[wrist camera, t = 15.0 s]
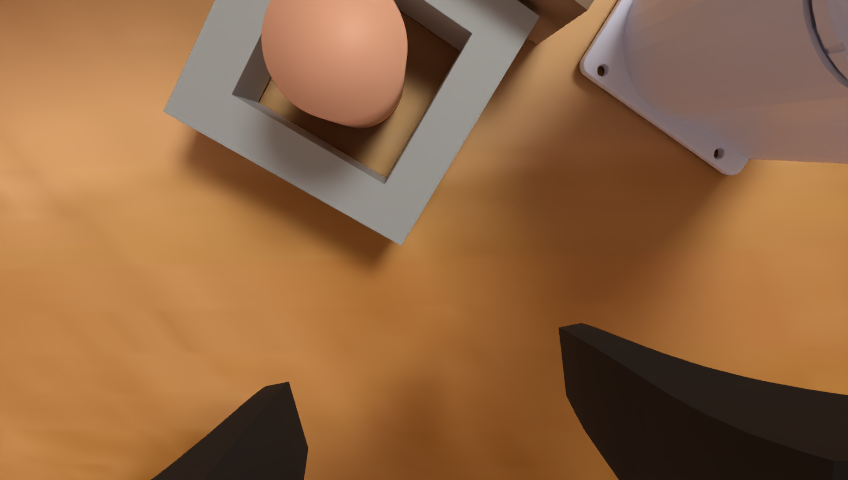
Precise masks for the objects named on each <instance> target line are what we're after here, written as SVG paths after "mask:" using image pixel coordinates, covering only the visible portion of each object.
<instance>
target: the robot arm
mask: <svg viewBox="0 0 848 480" xmlns="http://www.w3.org/2000/svg"><path fill="white" fill-rule="evenodd" d="M599 65H600V66H602V67H603V68H604V75H603V76H599V75H598V73H597V69H598V66H599ZM580 70H581V73H582V74H583V75H584V76H586V77H587V78H588V79H590V80H591V81H593V82H594V83H595V84H597V85H598V86H600V87H601V88H603V89H604V90H605V91H607V92H608V93H610V94H611V95H612V96H614V97H615V98H617V99H618V100H619V101H621V102H622V103H624V104H625V105H627V106H628V107H629V108H631V109H632V110H634V111H635V112H636V113H638V114H639V115H641V116H642V117H643V118H645V119H646V120H648V121H649V122H650V123H652V124H653V125H655V126H656V127H658V128H659V129H660V130H662V131H663V132H665V133H666V134H667V135H669V136H670V137H672V138H673V139H674V140H676V141H677V142H679V143H680V144H682V145H683V146H684V147H686V148H687V149H689V150H690V151H691V152H693V153H694V154H696V155H697V156H698V157H700V158H701V159H703V160H704V161H706V162H707V163H708V164H710V165H711V166H713V167H714V168H715V169H717V170H718V171H720V172H721V173H723V174H725V175H736V174H738V173H739V172H740V171H741V170H742V169H743V167H744V166H745V165H746V163H747V162H748V161H749V159H759V160H780V161H801V162H822V163H843V164H848V0H619V1H618V2H617V4H616V5H615V7H614V8H613V10H612V12H611V13H610V15H609V16H608V18H607V20H606V21H605V23H604V24H603V26H602V27H601V29H600V31H599V32H598V34H597V35H596V37H595V39H594V40H593V42H592V43H591V45H590V46H589V48H588V50H587V51H586V53H585V54H584V56H583V57H582V59H581V62H580ZM716 149H717V150H718V155H717V157H716V158H715V157H714V152H715V150H716ZM559 335H560V343H561V352H562V361H563V370H564V379H565V388H566V396H567V398H568V399H569V401H570V403H571V405H572V407H573V409H574V411H575V413H576V415H577V417H578V419H579V421H580V423H581V425H582V426H583V428H584V430H585V431H586V433H587V434H588V436H589V437H590V439H591V440H592V442H593V443H594V445H595V446H596V448H597V449H598V450H599V452H600V453H601V455H602V456H603V458H604V459H605V461H606V462H607V463H608V465H609V466H610V468H611V469H612V471H613V472H614V473H615V475H616V476H617V478H618V479H619V480H848V395H843V394H836V393H829V392H822V391H816V390H809V389H804V388H798V387H793V386H787V385H782V384H777V383H771V382H766V381H761V380H757V379H752V378H748V377H743V376H739V375H736V374H732V373H728V372H724V371H720V370H716V369H712V368H708V367H705V366H701V365H698V364H695V363H691V362H688V361H685V360H682V359H679V358H676V357H673V356H670V355H667V354H664V353H661V352H658V351H656V350H653V349H650V348H647V347H645V346H642V345H639V344H637V343H634V342H631V341H629V340H626V339H624V338H621V337H619V336H616V335H614V334H611V333H608V332H606V331H603V330H601V329H598V328H595V327H592V326H589V325H586V324H583V323H579V324H574V325H570V326H565V327H560V328H559ZM307 453H308V446H307V443H306V439H305V436H304V432H303V429H302V425H301V422H300V419H299V415H298V412H297V408H296V405H295V401H294V398H293V395H292V391H291V388H290V384H289V382H285V383H280V384H275V385H270V386H265V387H264V388H263V389H261V390H260V391H258V392H257V393H256V394H255V395H253V396H252V397H251V398H250V399H248V400H247V401H246V402H245V403H244V404H243V405H241V406H240V407H239V408H238V409H237V410H236V411H234V412H233V413H232V414H231V415H230V416H229V417H228V418H226V419H225V420H224V421H223V422H222V423H221V424H219V425H218V426H217V427H216V428H215V429H214V430H213V431H211V432H210V433H209V434H208V435H207V436H206V437H204V438H203V439H202V440H201V441H199V442H198V443H197V444H196V445H195V446H193V447H192V448H191V449H190V450H188V451H187V452H186V453H185V454H183V455H182V456H181V457H180V458H178V459H177V460H176V461H175V462H174V463H172V464H171V465H170V466H169V467H167V468H166V469H165V470H163V471H162V472H161V473H160V474H158V475H157V476H156V477H154V478H153V479H151V480H304V474H305V468H306V460H307Z"/></svg>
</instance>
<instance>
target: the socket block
mask: <svg viewBox="0 0 848 480" xmlns="http://www.w3.org/2000/svg"><path fill="white" fill-rule="evenodd" d="M393 1H394V2H395V4H396V6H397V7H398V9H399V10H400V11H402V12H403V13H405V14H406V15H408V16H409V17H411V18H412V19H414V20H415V21H417V22H418V23H419V24H421V25H422V26H424V27H425V28H427V29H428V30H430V31H431V32H433V33H434V34H436V35H437V36H439V37H440V38H442V39H443V40H445V41H446V42H448V43H449V44H450V45H452V46H453V47H455V48H456V49H458V50H459V51H460V52H459V54H458V55H457V57H456V59H455V60H454V62H453V64H452V66H451V67H450V69H449V71H448V73H447V74H446V76H445V78H444V79H443V81H442V83H441V85H440V86H439V88H438V90H437V92H436V93H435V95H434V97H433V99H432V100H431V102H430V104H429V105H428V107H427V109H426V111H425V112H424V114H423V116H422V118H421V119H420V121H419V123H418V124H417V126H416V128H415V130H414V131H413V133H412V135H411V137H410V138H409V140H408V142H407V143H406V145H405V147H404V149H403V150H402V152H401V154H400V156H399V157H398V159H397V161H396V163H395V164H394V166H393V168H392V169H391V171H390V173H389V175H388V176H387V178H385V177H384V176H382V175H380V174H379V173H377V172H375V171H374V170H372V169H370V168H368V167H367V166H365V165H363V164H362V163H360V162H358V161H357V160H355V159H353V158H352V157H350V156H348V155H346V154H345V153H343V152H341V151H340V150H338V149H336V148H335V147H333V146H331V145H330V144H328V143H326V142H325V141H323V140H321V139H319V138H318V137H316V136H314V135H313V134H311V133H309V132H308V131H306V130H304V129H303V128H301V127H299V126H298V125H296V124H294V123H292V122H291V121H289V120H287V119H286V118H284V117H282V116H281V115H279V114H277V113H276V112H274V111H272V110H270V109H269V108H267V107H265V106H264V105H262V104H260V103H259V102H258V101H259V99H260V97H261V95H262V93H263V91H264V89H265V87H266V85H267V83H268V81H269V79H270V77H271V76H270V73H269V71H268V69H267V66H266V63H265V60H264V56H263V51H262V41H261V36H262V25H263V19H264V16H265V12H266V9H267V7H268V5H269V3H270V0H215V2H214V4H213V6H212V8H211V10H210V12H209V15H208V17H207V19H206V21H205V23H204V25H203V27H202V30H201V32H200V34H199V36H198V38H197V40H196V43H195V45H194V47H193V49H192V51H191V53H190V56H189V58H188V60H187V62H186V64H185V66H184V68H183V71H182V73H181V75H180V77H179V79H178V81H177V84H176V86H175V88H174V90H173V92H172V94H171V97H170V99H169V101H168V103H167V105H166V107H165V109H164V112H165V113H167V114H168V115H170V116H172V117H174V118H176V119H177V120H179V121H181V122H183V123H184V124H186V125H188V126H190V127H192V128H193V129H195V130H197V131H199V132H200V133H202V134H204V135H206V136H207V137H209V138H211V139H213V140H215V141H216V142H218V143H220V144H222V145H223V146H225V147H227V148H229V149H231V150H232V151H234V152H236V153H238V154H239V155H241V156H243V157H245V158H247V159H248V160H250V161H252V162H254V163H255V164H257V165H259V166H261V167H262V168H264V169H266V170H268V171H270V172H271V173H273V174H275V175H277V176H278V177H280V178H282V179H284V180H286V181H287V182H289V183H291V184H293V185H294V186H296V187H298V188H300V189H302V190H303V191H305V192H307V193H309V194H310V195H312V196H314V197H316V198H317V199H319V200H321V201H323V202H325V203H326V204H328V205H330V206H332V207H333V208H335V209H337V210H339V211H341V212H342V213H344V214H346V215H348V216H349V217H351V218H353V219H355V220H357V221H358V222H360V223H362V224H364V225H365V226H367V227H369V228H371V229H372V230H374V231H376V232H378V233H380V234H381V235H383V236H385V237H387V238H388V239H390V240H392V241H394V242H396V243H397V244H399V245H402V244H403V242H404V241H405V239H406V237H407V236H408V234H409V232H410V231H411V229H412V227H413V226H414V224H415V222H416V221H417V219H418V217H419V216H420V214H421V212H422V211H423V209H424V207H425V206H426V204H427V202H428V201H429V199H430V197H431V196H432V194H433V192H434V191H435V189H436V187H437V186H438V184H439V182H440V181H441V179H442V178H443V176H444V174H445V173H446V171H447V169H448V168H449V166H450V164H451V163H452V161H453V159H454V158H455V156H456V154H457V153H458V151H459V149H460V148H461V146H462V144H463V143H464V141H465V139H466V138H467V136H468V134H469V133H470V131H471V129H472V128H473V126H474V124H475V123H476V121H477V119H478V118H479V116H480V114H481V113H482V111H483V110H484V108H485V106H486V105H487V103H488V101H489V100H490V98H491V96H492V95H493V93H494V91H495V90H496V88H497V86H498V85H499V83H500V81H501V80H502V78H503V76H504V75H505V73H506V71H507V70H508V68H509V66H510V65H511V63H512V61H513V60H514V58H515V56H516V55H517V53H518V51H519V50H520V48H521V47H522V45H523V43H524V42H525V40H526V38H527V37H528V35H529V33H530V32H531V30H532V28H533V27H534V25H535V23H536V22H537V20H538V18H539V17H540V16H538V15H537V14H536V13H534V12H533V11H532V10H530V9H529V8H527V7H526V6H525V5H523V4H522V3H520V2H519V1H518V0H393Z"/></svg>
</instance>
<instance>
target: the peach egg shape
mask: <svg viewBox="0 0 848 480" xmlns="http://www.w3.org/2000/svg"><path fill="white" fill-rule="evenodd" d="M261 41H262V51H263V56H264V60H265V63H266V66H267V69H268V71H269V73H270V76H271V78H272V80H273V81H274V83H275V84H276V86H277V87H278V89H279V90H280V91H281V92H282V94H283V95H284V96H285V97H286V98H287V99H288V100H289V101H290V102H291V103H293V104H294V105H295V106H297V107H298V108H300V109H301V110H303V111H305V112H307V113H309V114H311V115H314V116H316V117H319V118H322V119H325V120H329V121H332V122H335V123H338V124H341V125H344V126H348V127H352V128H367V127H371V126H375V125H377V124H379V123H381V122H383V121H384V120H386V119H387V118H388V117H389V116H390V115H391V114H392V113H393V112H394V110H395V109H396V107H397V106H398V104H399V102H400V99H401V96H402V92H403V85H404V76H405V68H406V59H407V35H406V29H405V25H404V22H403V19H402V16H401V14H400V11H399V9H398V7H397V6H396V4H395V2H394V1H393V0H270V3H269V5H268V7H267V9H266V12H265V16H264V19H263V25H262V36H261Z"/></svg>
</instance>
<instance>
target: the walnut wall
mask: <svg viewBox="0 0 848 480" xmlns="http://www.w3.org/2000/svg"><path fill="white" fill-rule="evenodd" d="M518 1H519V2H520V3H522V4H523V5H525V6H526V7H527V8H529V9H530V10H532V11H533V12H534V13H536V14H537V15H538V16H540V17H539V18H538V20H537V22H536V23H535V25H534V27H533V28H532V30H531V32H530V33H529V35H528V37H527V38H528V39H530V40H531V41H532V42H534V43H535V44H537V45H538V44H539V43H540V42H542V41H543V40H545V39H546V38H548V37H549V36H551V35H552V34H554V33H555V32H556V31H558V30H559V29H561V28H562V27H564V26H565V25H567V24H568V23H570V22H571V21H572V20H574V19H575V18H577V17H578V16H580V15H581V14H583V13H584V12H586V11H587V10H588V9H589V7H590V6H591V4H592V2H593V1H594V0H518Z"/></svg>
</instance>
